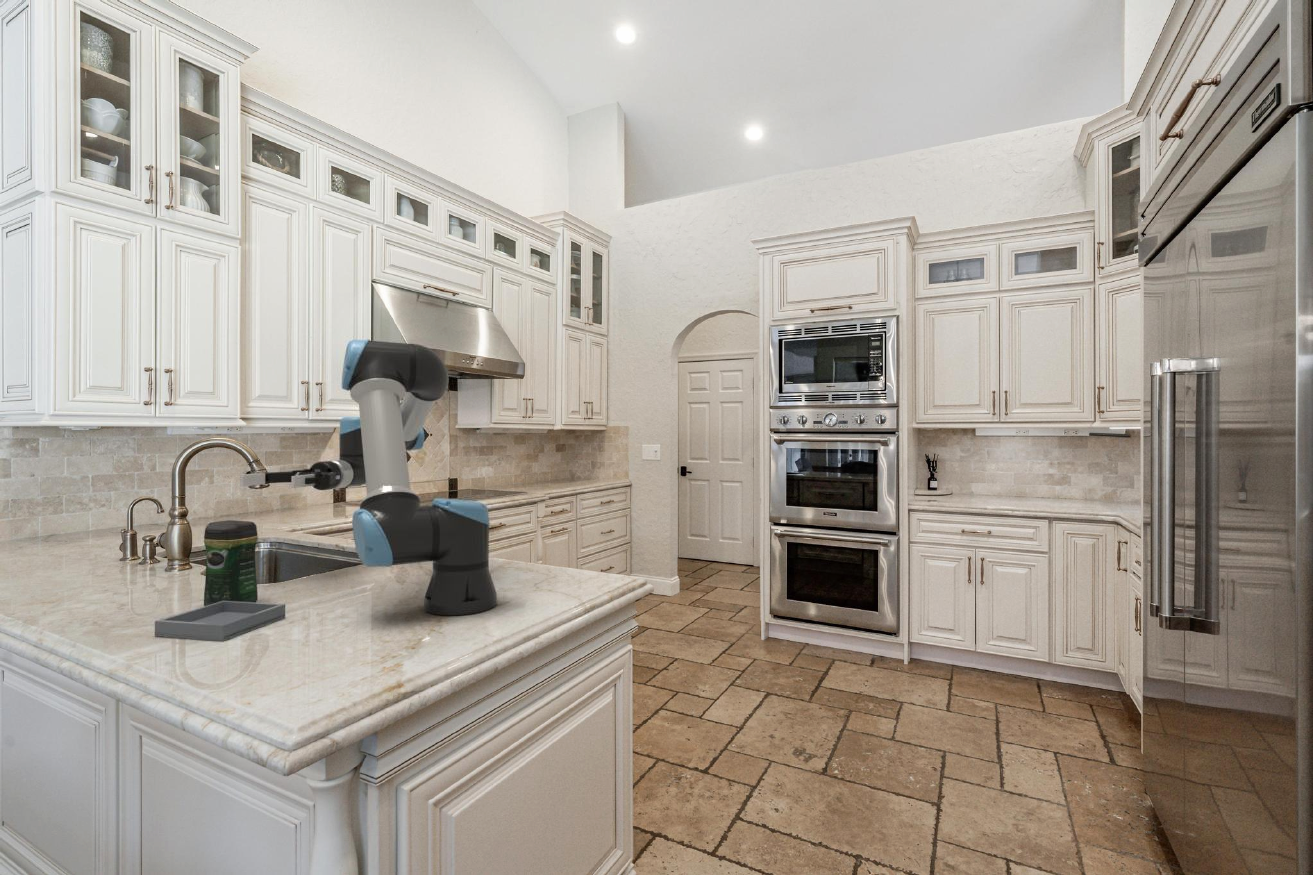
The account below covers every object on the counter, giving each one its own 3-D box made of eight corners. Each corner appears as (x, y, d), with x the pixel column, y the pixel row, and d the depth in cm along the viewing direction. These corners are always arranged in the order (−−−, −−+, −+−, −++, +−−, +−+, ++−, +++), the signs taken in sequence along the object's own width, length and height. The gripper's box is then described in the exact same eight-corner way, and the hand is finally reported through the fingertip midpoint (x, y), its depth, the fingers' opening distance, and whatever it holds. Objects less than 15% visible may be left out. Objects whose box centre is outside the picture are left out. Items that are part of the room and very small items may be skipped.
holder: (285, 617, 126) (285, 604, 126) (223, 641, 111) (223, 625, 111) (223, 614, 128) (223, 600, 128) (154, 636, 114) (154, 621, 114)
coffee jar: (265, 602, 137) (265, 518, 137) (233, 612, 130) (233, 523, 130) (229, 599, 140) (229, 517, 140) (195, 609, 132) (196, 522, 132)
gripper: (372, 490, 163) (314, 499, 142) (288, 487, 167) (220, 495, 146) (372, 461, 163) (314, 466, 142) (288, 460, 167) (220, 464, 146)
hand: (266, 481), depth 144 cm, fingers open, 13 cm apart
